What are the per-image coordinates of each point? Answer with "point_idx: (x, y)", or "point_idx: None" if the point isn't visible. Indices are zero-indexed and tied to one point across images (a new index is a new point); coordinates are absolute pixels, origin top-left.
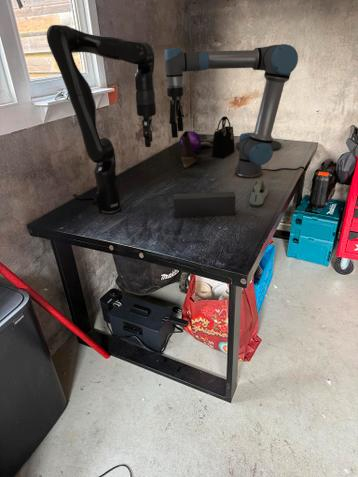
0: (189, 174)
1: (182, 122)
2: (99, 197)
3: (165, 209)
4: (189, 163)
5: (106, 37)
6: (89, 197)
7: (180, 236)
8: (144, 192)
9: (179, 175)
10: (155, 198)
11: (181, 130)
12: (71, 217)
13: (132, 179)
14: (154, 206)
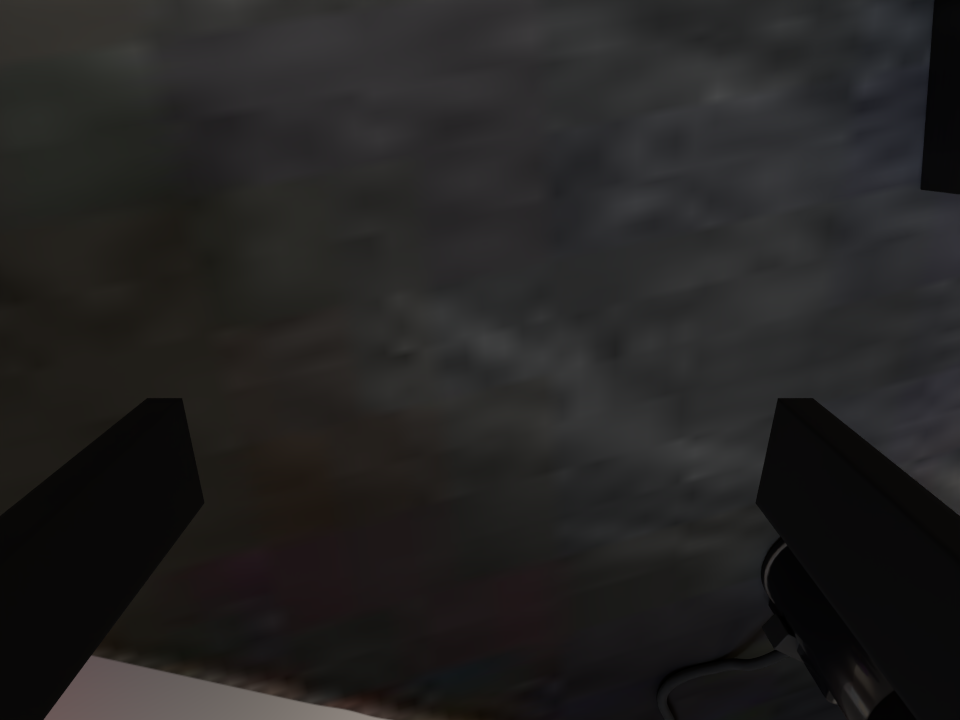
0: (148, 228)
1: (46, 524)
2: None
3: (854, 267)
4: None
5: None
6: (667, 709)
7: None
8: (562, 467)
9: (193, 307)
10: (665, 375)
11: (182, 437)
12: None
13: (341, 594)
14: (796, 349)
